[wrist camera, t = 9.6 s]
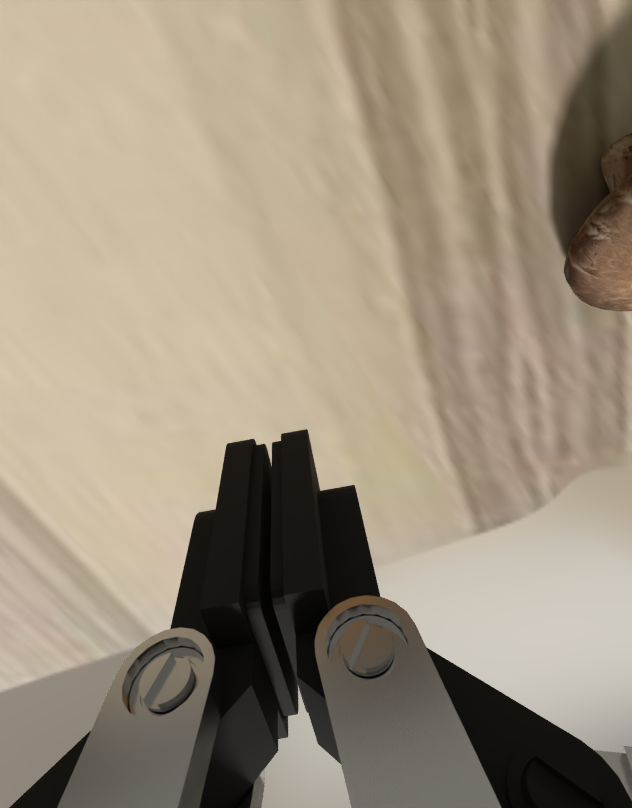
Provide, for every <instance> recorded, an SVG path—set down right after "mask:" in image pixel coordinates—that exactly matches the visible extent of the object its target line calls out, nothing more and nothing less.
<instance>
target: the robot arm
mask: <svg viewBox="0 0 632 808" xmlns="http://www.w3.org/2000/svg"><path fill="white" fill-rule="evenodd" d="M298 686H299V690H300V693H301V696H302V699H303V702H304V705H305V709H306V711H307V712H308V713H309V716H310V719H311V723H312V726H313V729H314V732H315V735H316V738H317V742H318V744H319V745H320V746H321V747H322V748H323V749H325V750H326V751H327V752H328V753H329V754H330V755H331V756H332V757H333V758H335V759H336V760H337V761H338V762H339V763H340V764H341V765H342V769H343V773H344V778H345V782H346V786H347V790H348V794H349V799H350V802H351V807H352V808H632V747H627V746H624V747H623V750H622V753H616V752H604V751H595V750H593V749H591V748H590V747H588V746H587V745H586V744H585V743H583V742H582V741H581V740H579V739H578V738H576V737H574V736H573V735H571V734H569V733H567V732H566V731H564V730H563V729H561V728H559V727H558V726H556V725H554V724H553V723H551V722H549V721H548V720H546V719H544V718H543V717H541V716H539V715H537V714H536V713H534V712H533V711H531V710H529V709H528V708H526V707H524V706H523V705H521V704H519V703H518V702H516V701H514V700H513V699H511V698H509V697H508V696H506V695H504V694H503V693H501V692H499V691H498V690H496V689H494V688H493V687H491V686H490V685H488V684H486V683H484V682H483V681H481V680H480V679H478V678H476V677H474V676H473V675H471V674H469V673H468V672H466V671H465V670H463V669H461V668H460V667H458V666H456V665H455V664H453V663H451V662H450V661H448V660H446V659H445V658H443V657H441V656H440V655H438V654H436V653H435V652H433V651H431V650H430V649H428V648H426V646H425V644H424V642H423V640H422V638H421V636H420V633H419V631H418V629H417V627H416V625H415V623H414V622H413V620H412V619H411V617H410V616H409V614H408V613H407V612H406V611H405V610H404V609H403V608H401V607H400V606H399V605H397V604H396V603H395V602H392V601H390V600H388V599H385V598H382V597H380V593H379V589H378V585H377V580H376V576H375V572H374V567H373V563H372V558H371V554H370V550H369V545H368V541H367V537H366V532H365V528H364V524H363V519H362V515H361V511H360V506H359V502H358V497H357V493H356V489H355V486H354V485H351V486H346V487H340V488H334V489H329V490H323V491H320V488H319V483H318V478H317V473H316V468H315V463H314V458H313V454H312V449H311V444H310V439H309V434H308V430H307V429H306V430H300V431H295V432H289V433H284V434H281V441H278V442H273V443H272V466H271V463H270V459H269V455H268V451H267V448H266V445H265V444H261V445H256V442H255V440H254V439H250V440H245V441H239V442H233V443H228V444H227V446H226V451H225V457H224V463H223V469H222V475H221V481H220V487H219V493H218V499H217V505H216V510H210V511H204V512H199V513H198V514H197V515H196V517H195V520H194V524H193V529H192V533H191V538H190V542H189V547H188V551H187V556H186V561H185V565H184V570H183V574H182V579H181V583H180V588H179V592H178V597H177V602H176V606H175V611H174V615H173V620H172V624H171V629H169V630H165V631H162V632H160V633H158V634H156V635H154V636H151V637H150V638H148V639H147V640H146V641H144V642H143V643H142V644H140V645H139V646H137V647H136V648H135V649H134V651H133V652H132V653H131V654H130V655H129V656H128V657H127V658H126V659H125V660H124V662H123V664H122V666H121V667H120V669H119V671H118V672H117V674H116V676H115V678H114V680H113V682H112V685H111V687H110V690H109V692H108V694H107V696H106V698H105V701H104V703H103V705H102V707H101V710H100V712H99V714H98V716H97V719H96V721H95V723H94V726H93V728H92V730H91V731H90V732H89V733H88V734H87V735H86V736H85V737H83V738H82V739H81V740H80V741H79V742H78V743H77V744H76V745H75V746H74V747H73V748H72V749H71V750H70V751H69V752H68V753H67V754H66V755H64V756H63V757H62V758H61V759H60V760H59V761H58V762H57V763H56V764H55V765H54V766H53V767H52V768H51V769H50V770H49V771H48V772H47V773H46V774H44V776H42V777H41V778H40V779H39V780H38V781H37V782H36V783H35V784H34V785H33V786H32V787H31V788H30V789H29V790H28V791H26V792H25V793H24V794H23V795H22V796H21V797H20V798H19V799H18V800H17V801H16V802H15V803H14V804H13V805H12V806H11V807H10V808H261V806H262V799H263V792H264V778H265V777H264V776H265V769H264V768H265V767H266V766H267V764H268V763H269V762H270V761H271V759H272V758H273V757H274V755H275V754H276V753H277V751H278V739H280V738H286V737H288V716H290V715H295V714H298Z"/></svg>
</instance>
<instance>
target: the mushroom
mask: <svg viewBox="0 0 632 808" xmlns="http://www.w3.org/2000/svg"><path fill="white" fill-rule="evenodd" d="M601 171H602V174H603V176H604V178H605V181H606V183H607V185H608V188H609V191H610V194H609V195H608V196H607V197H606V198H605V199H603V200H602V201H601V202H600V203H599V204H598V205H597V206H596V207H595V209H594V210H593V211H592V213H591V214H590V215H589V217H588V218H587V220H586V221H585V222H584V224H583V225H582V226H581V228H580V229H579V230H578V232H577V233H576V234H575V236H574V237H573V238H572V240H571V244H570V247H569V250H568V254H567V257H566V260H565V266H564V274H565V277H566V280H567V282H568V284H569V285H570V287H571V289H572V290H573V292H574V293H575V294H576V295H577V296H578V298H579V299H580V300H581V301H583V302H585V303H587V304H589V305H591V306H594V307H597V308H600V309H605V310H613V311H632V133H631V134H629V135H627V136H625V137H623V138H621V139H620V140H618V141H617V142H615V143H614V144H612V145H611V146H610V147H609V148H608V150H607V151H606V152H605V154H604V155H603V156H602V158H601Z"/></svg>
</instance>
